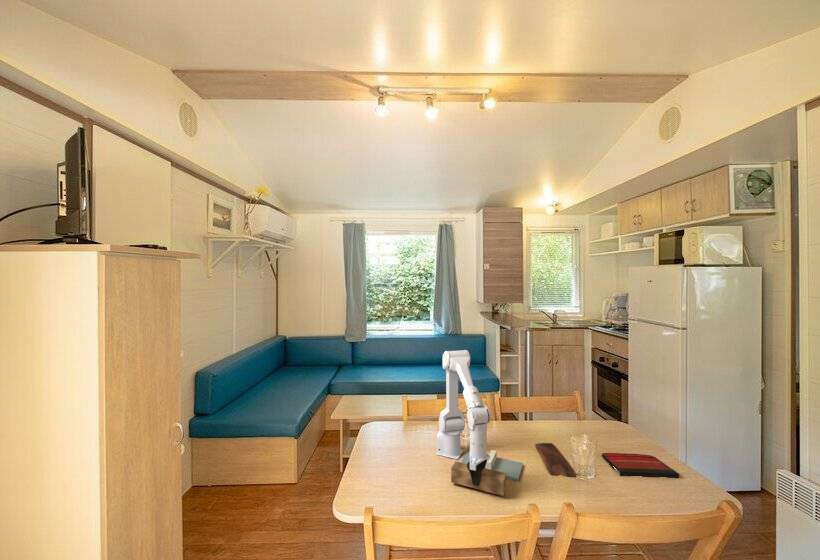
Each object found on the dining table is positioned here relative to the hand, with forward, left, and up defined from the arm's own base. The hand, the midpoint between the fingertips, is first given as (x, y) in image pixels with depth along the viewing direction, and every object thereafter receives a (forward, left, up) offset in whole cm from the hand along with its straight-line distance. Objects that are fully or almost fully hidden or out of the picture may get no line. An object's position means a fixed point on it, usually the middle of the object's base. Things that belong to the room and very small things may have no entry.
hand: (478, 480), depth 123 cm
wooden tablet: (+22, +33, -3) cm, 40 cm away
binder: (+52, +41, -3) cm, 66 cm away
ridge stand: (+1, +16, -3) cm, 16 cm away
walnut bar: (0, 0, -2) cm, 2 cm away
